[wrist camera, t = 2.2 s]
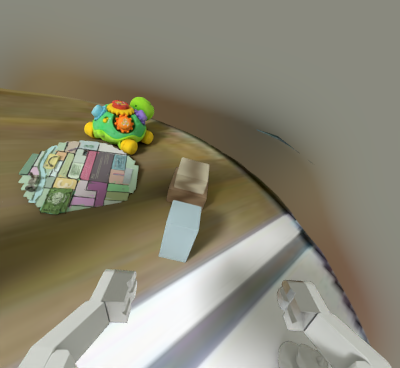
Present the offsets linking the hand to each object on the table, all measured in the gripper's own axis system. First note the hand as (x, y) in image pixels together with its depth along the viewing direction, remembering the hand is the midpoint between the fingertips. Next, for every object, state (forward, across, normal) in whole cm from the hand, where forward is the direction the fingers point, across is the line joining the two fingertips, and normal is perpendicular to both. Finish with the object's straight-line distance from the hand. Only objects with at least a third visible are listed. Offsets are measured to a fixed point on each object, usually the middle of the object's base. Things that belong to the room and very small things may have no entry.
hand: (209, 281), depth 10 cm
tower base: (+35, +2, +16) cm, 39 cm away
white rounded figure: (+4, -15, +25) cm, 29 cm away
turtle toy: (+56, +24, +10) cm, 61 cm away
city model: (+32, +26, +14) cm, 44 cm away
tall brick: (+19, +3, +19) cm, 27 cm away
